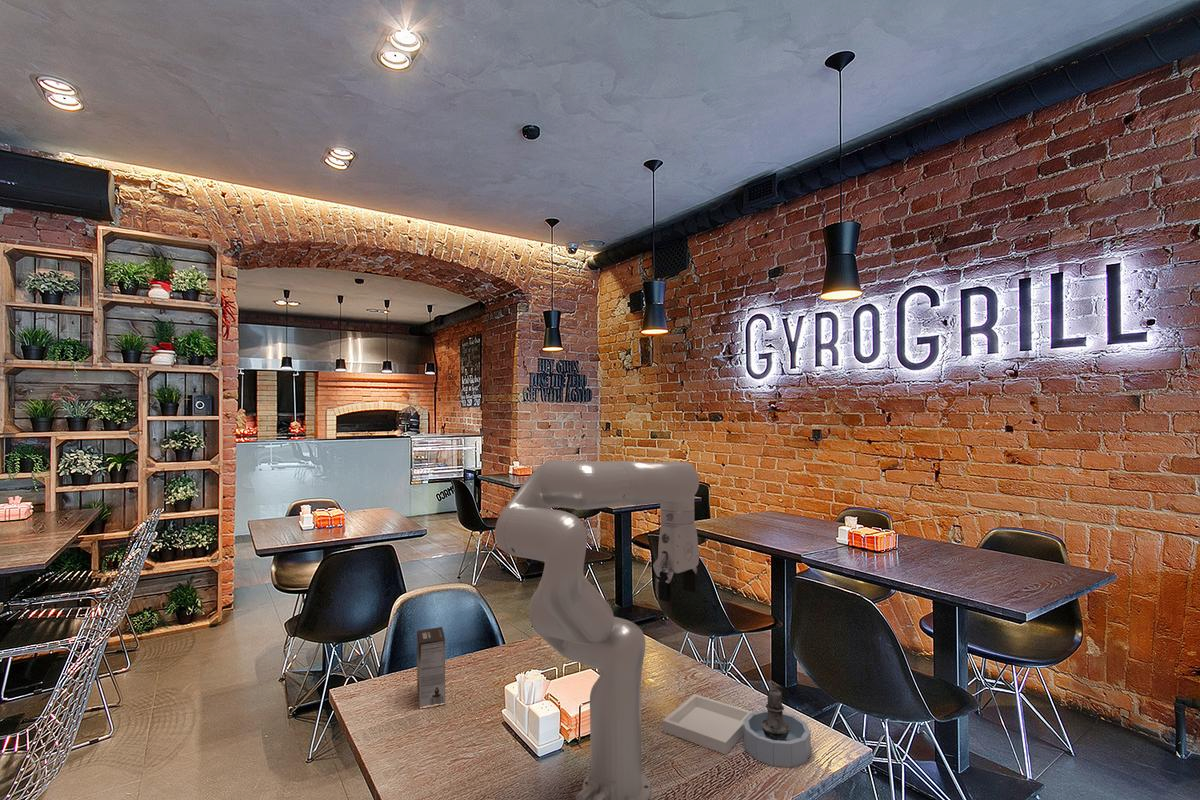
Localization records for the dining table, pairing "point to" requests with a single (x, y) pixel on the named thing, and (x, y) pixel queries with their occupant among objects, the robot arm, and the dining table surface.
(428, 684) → the coffee box
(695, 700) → the parts tray
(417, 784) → the dining table surface
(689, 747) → the dining table surface
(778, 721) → the dark brown turned figure
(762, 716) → the bowl
